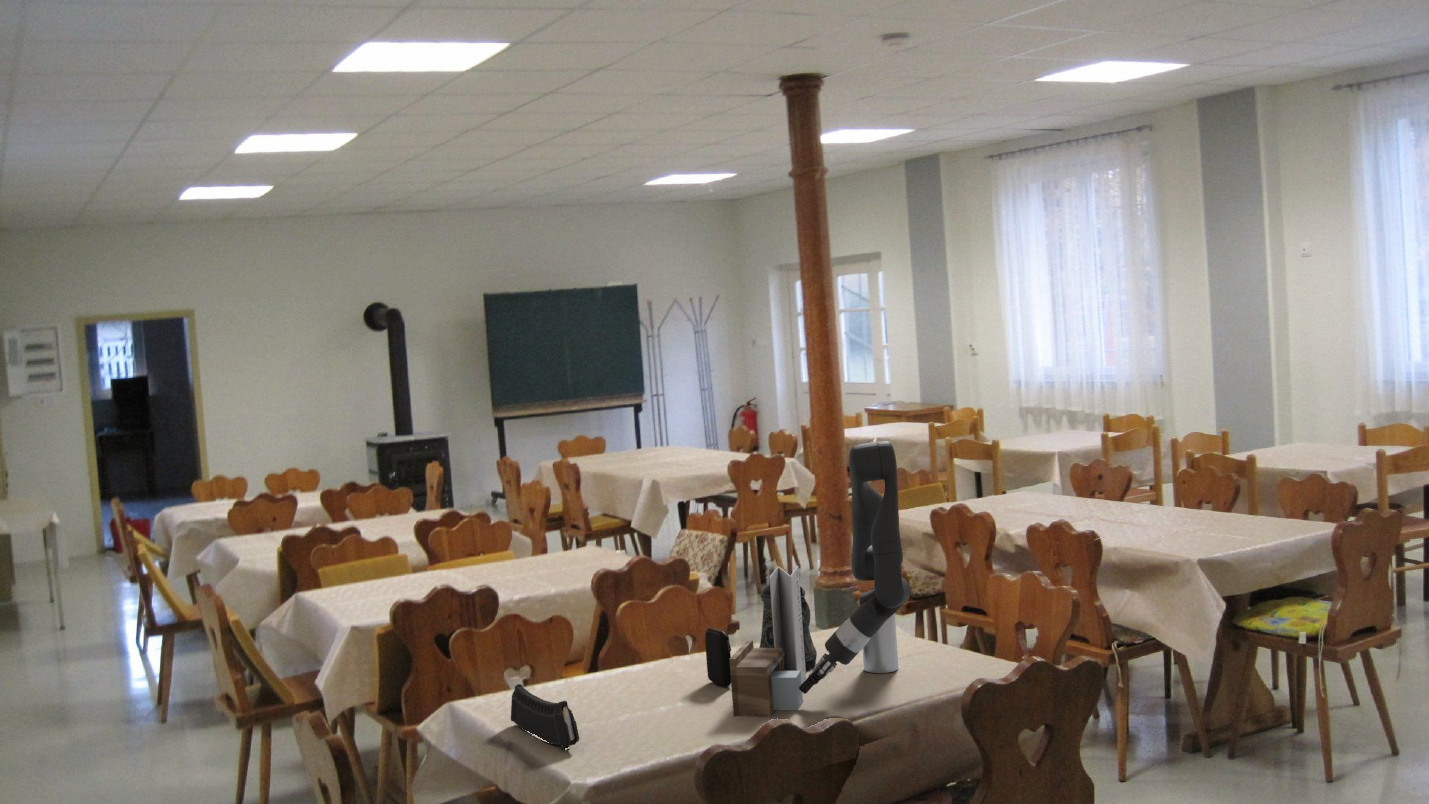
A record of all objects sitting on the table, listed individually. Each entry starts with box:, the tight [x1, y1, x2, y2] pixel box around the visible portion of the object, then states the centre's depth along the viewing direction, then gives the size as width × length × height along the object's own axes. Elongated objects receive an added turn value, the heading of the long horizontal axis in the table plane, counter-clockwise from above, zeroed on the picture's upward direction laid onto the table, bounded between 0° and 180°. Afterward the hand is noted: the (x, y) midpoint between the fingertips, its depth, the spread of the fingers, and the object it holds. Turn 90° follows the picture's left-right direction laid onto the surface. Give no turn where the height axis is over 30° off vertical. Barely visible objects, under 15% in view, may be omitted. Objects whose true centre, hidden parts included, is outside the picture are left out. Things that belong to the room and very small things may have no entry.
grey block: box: [771, 671, 804, 711], centre depth 301 cm, size 6×12×8 cm, turn 75°
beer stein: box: [758, 583, 818, 671], centre depth 337 cm, size 16×19×25 cm
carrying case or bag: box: [704, 627, 732, 688], centre depth 323 cm, size 11×3×15 cm, turn 33°
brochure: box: [769, 565, 807, 683], centre depth 318 cm, size 14×6×30 cm, turn 168°
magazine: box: [510, 683, 580, 748], centre depth 289 cm, size 17×3×30 cm
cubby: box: [729, 639, 785, 718], centre depth 303 cm, size 18×10×14 cm, turn 165°
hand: (802, 690), depth 300 cm, fingers closed
